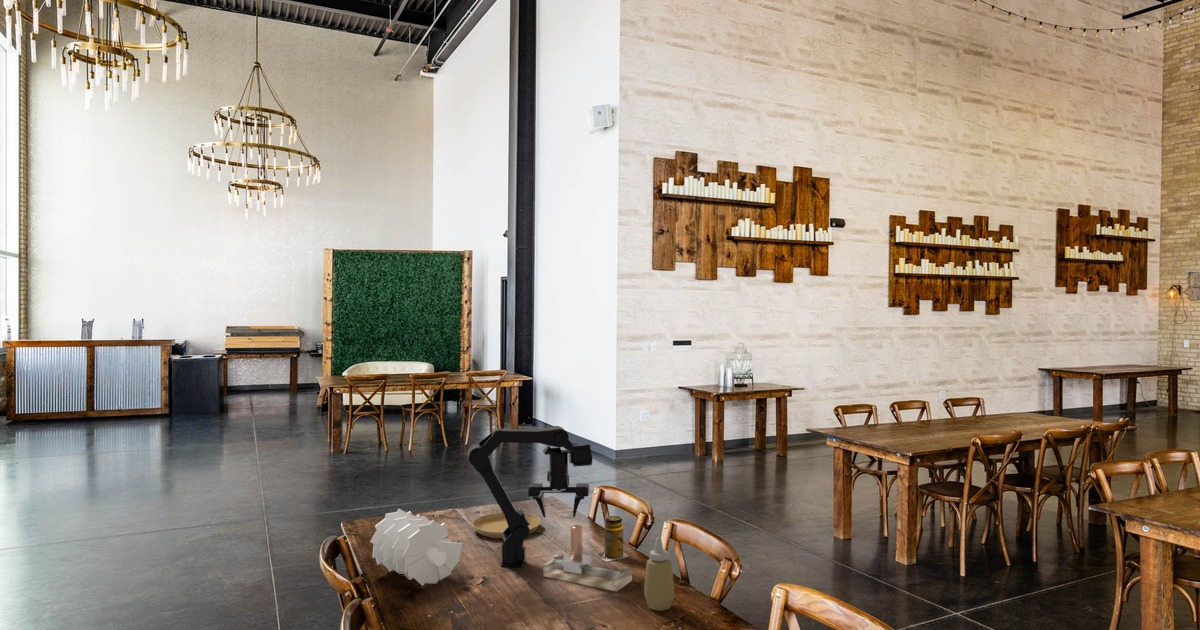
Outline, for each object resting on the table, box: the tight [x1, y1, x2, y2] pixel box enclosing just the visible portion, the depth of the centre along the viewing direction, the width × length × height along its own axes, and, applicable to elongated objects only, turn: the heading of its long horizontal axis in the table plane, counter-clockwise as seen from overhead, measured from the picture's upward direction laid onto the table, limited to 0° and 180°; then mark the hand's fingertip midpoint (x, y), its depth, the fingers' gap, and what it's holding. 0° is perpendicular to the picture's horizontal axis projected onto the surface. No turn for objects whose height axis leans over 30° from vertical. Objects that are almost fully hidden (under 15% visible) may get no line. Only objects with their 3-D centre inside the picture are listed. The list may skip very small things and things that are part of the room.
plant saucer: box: [471, 512, 542, 540], centre depth 255 cm, size 24×24×3 cm
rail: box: [542, 553, 633, 592], centre depth 208 cm, size 26×9×4 cm, turn 60°
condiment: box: [593, 515, 629, 563], centre depth 227 cm, size 7×8×12 cm
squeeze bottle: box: [643, 537, 675, 612], centre depth 188 cm, size 8×8×18 cm
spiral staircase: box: [369, 507, 464, 587], centre depth 212 cm, size 18×18×25 cm
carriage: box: [562, 524, 593, 575], centre depth 210 cm, size 6×7×13 cm
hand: (559, 517), depth 225 cm, fingers open, 9 cm apart
